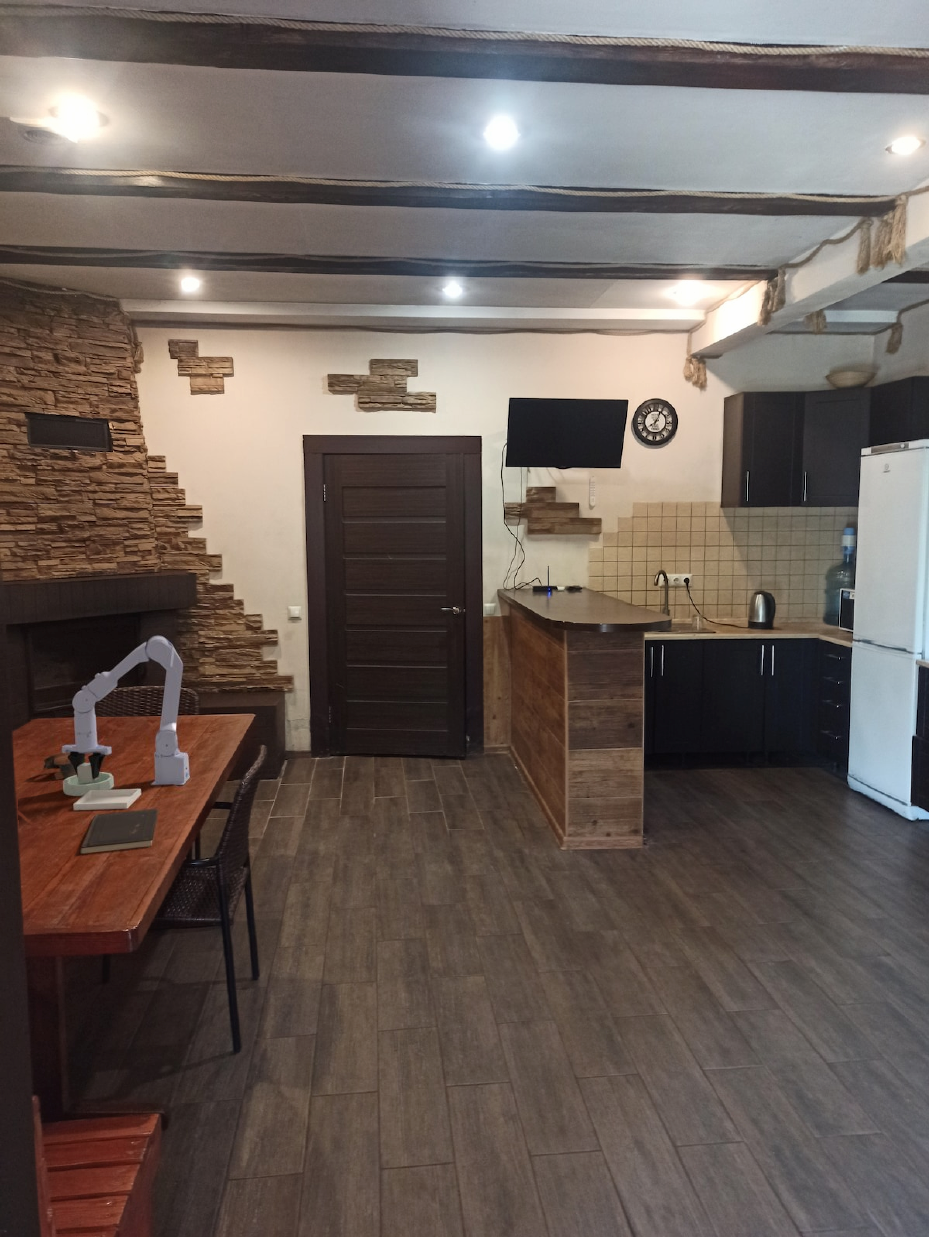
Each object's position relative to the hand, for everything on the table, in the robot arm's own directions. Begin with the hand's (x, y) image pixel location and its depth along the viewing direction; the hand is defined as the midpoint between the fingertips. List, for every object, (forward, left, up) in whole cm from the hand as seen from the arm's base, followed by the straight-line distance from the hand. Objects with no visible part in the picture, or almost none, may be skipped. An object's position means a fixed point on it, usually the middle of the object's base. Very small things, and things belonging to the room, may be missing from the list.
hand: (88, 777), depth 236 cm
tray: (-10, +13, -4) cm, 17 cm away
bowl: (0, 0, -4) cm, 4 cm away
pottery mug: (+13, -17, -4) cm, 22 cm away
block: (0, 0, -1) cm, 1 cm away
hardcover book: (-21, +36, -5) cm, 42 cm away
